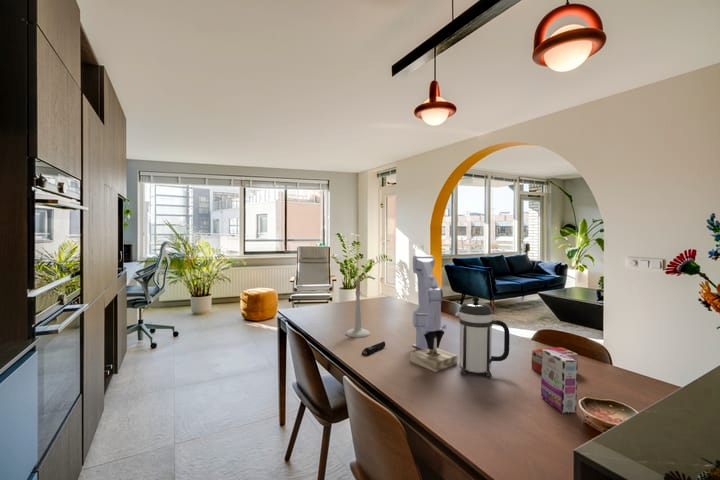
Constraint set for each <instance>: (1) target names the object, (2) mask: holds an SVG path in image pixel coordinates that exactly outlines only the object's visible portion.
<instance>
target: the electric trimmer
mask: <svg viewBox="0 0 720 480" xmlns="http://www.w3.org/2000/svg"><path fill="white" fill-rule="evenodd" d="M385 347H386V341H385V340H384V341H381V342H379V343H375V344H373V345H371V346H368V347H365V348H364V349H363V350H362V352H361V355H362V356H365V357H368V356H370V354H372V353H375V352H379V351H380V350H382V349H383V348H385Z"/></svg>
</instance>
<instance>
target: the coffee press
mask: <svg viewBox="0 0 720 480" xmlns="http://www.w3.org/2000/svg"><path fill="white" fill-rule="evenodd" d="M472 300H473V301H465V302H463V303H462V304H461V305H460V307H459V308H458V310H457V312H456V313H455V316H457V317H458V316H459V321H458V323H459V366H460V367H461V371H460V374H461V375H462V376H467V373H469V372H471V373H476V374H484V375H485V376H486V378H488V379H489V378H492V377H493V375H492V372H491V368H492V362H502V361H505V360H506V359H507V358H508V356H509V353H510V329H509V327H508V325H507V323H505V322H504V321H503V320H499V319H493V314H494V310H492V306H490V305H489V304H488V303H485V302H482V301H480V302H479V300H480V298H479V297H478V296H474V297H472ZM493 325H497V326H500V327H502V329H503V330H504V331H503V332H504V334H503V335H504V338H503V339H504V341H503V342H504V344H503V345H504V346H503V347H504V348H503V353H502V354H501V355H499V356H497V355H495V356H494V355H492V339H493V338H492V333H493V332H492V329H493V328H492V327H493Z"/></svg>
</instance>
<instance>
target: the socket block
mask: <svg viewBox="0 0 720 480" xmlns="http://www.w3.org/2000/svg"><path fill="white" fill-rule="evenodd" d="M409 362H411V363H413V364H416V365H418V366H421V367H423V368H426V369H427V370H431V371H433V372H435V373H436V372H439V371H441V370H444V369H446V368H448V367H451V366H454V365H457V364H458V355H457V354H454V353H452V352H448V351H447V350H443V349H441V348H437V354H430V353H429V349H428V348H425V349H417V350H416V351H412V352H409Z"/></svg>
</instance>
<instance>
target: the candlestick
mask: <svg viewBox="0 0 720 480" xmlns="http://www.w3.org/2000/svg"><path fill="white" fill-rule="evenodd" d="M355 284H356V287H355V290H356V291H354V293H355V296H356V298H355V301H356V302H355V314H354V315H355V316H354V328H350V329H348V330H347V331H346V332H345V335H346V336H347V337H350V338H354V339H355V338H357V339H358V338H359V339H361V338H367V337H369V336H370V334H371V333H370V331H369V330H368V329H365V328H362V320H361V319H362V313H361V293H362V291H361V280H360V279H359V278H358V279H356V281H355Z"/></svg>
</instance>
